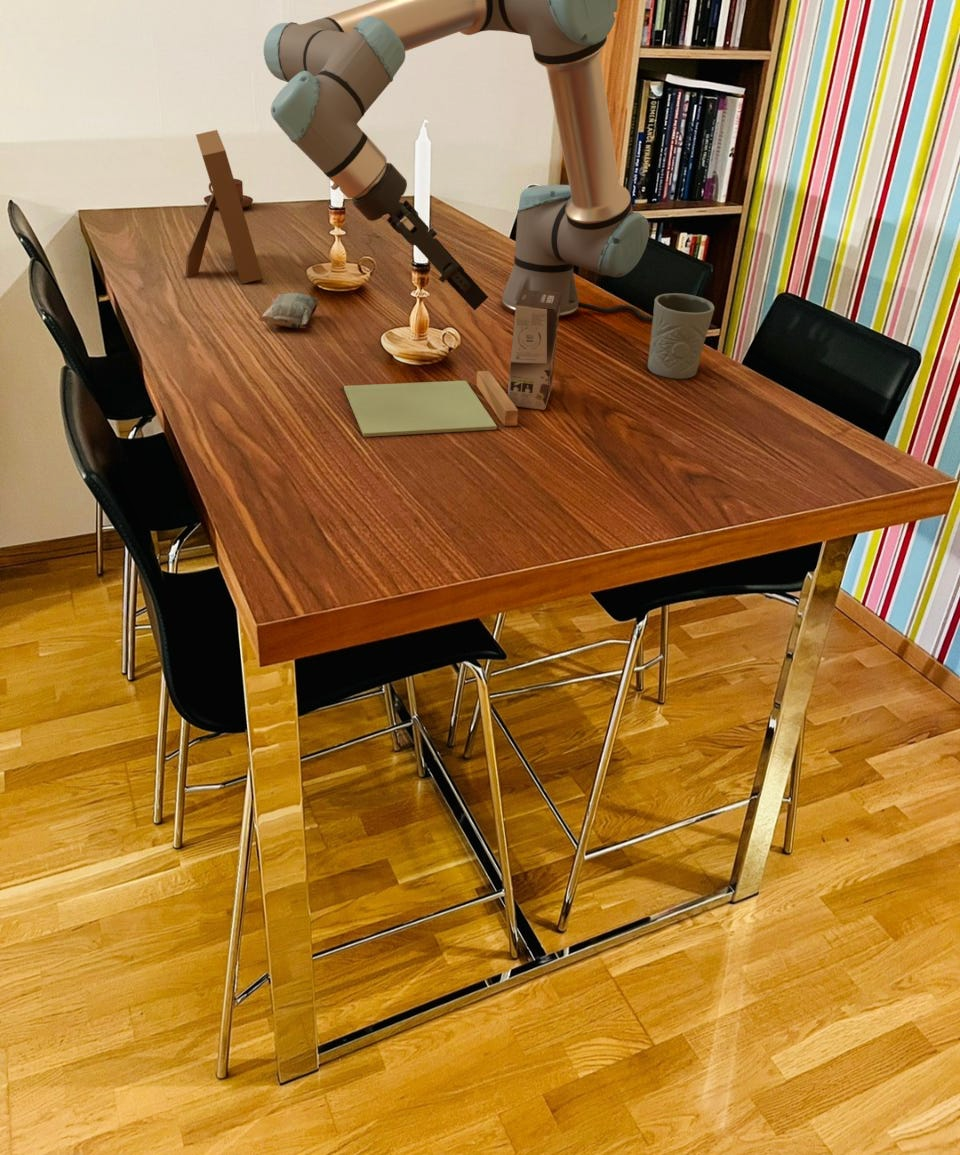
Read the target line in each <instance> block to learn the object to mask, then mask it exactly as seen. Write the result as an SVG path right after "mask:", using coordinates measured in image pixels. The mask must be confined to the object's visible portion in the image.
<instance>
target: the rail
mask: <svg viewBox="0 0 960 1155" xmlns="http://www.w3.org/2000/svg"><path fill="white" fill-rule="evenodd" d="M475 386H476V387H477V389H478V390H479V392H480V394H482V395H483V397H484V399H485V400H486V402H487V403H488V405H489V407H490V408H491V409H492V411H493V412H494V413H495V415H496V417H497V418H498V419H499V421H500V422H501V424H502V425H503V426H504V427H513V426H515V427H516V426H518V416H519V409H518V407H517V406H515V405H514V404H513V402H512V401H511V400H510V398H509V397H508V393H506V392H505V390H504V389H503V388H502V386H501V385H500V384H499V382H498V381H497V379H496V378H495V376H494V375H493V374H492V372H490V370H478V371H476V385H475Z"/></svg>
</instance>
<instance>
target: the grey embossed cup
mask: <svg viewBox="0 0 960 1155" xmlns="http://www.w3.org/2000/svg"><path fill="white" fill-rule="evenodd" d="M714 312H715V305H714V304H713V302H711V301H710V300H708V299H706V298H704V297H700V296H697V295H692V294H687V293H678V292H677V293H676V292H673V293H663V294H659V295H657V296H656V297H655V298H654V304H653V316H652V317H653V322H651V333H650V342H649V352H648V358H647V369H648V370H649V372H651V373H653V374H655V375H657V376H659V377H664V378H667V379H668V378H669V379H675V380H683V379H689V378H690V379H691V378H692V377H695V376H696V374H697V372H698V368H699V365H700V359H701V356H702V352H703V349H704V345H705V341H706V339H707V334H708V332H709V328H710V325H711V322H712V320H713V316H714Z"/></svg>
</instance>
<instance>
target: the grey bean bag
mask: <svg viewBox="0 0 960 1155" xmlns="http://www.w3.org/2000/svg"><path fill="white" fill-rule="evenodd" d="M318 304H319V301H318V298H317V297H314V296H312V295H308V294H306V293H302V292H301V293H300V292H287V293H280V294H276V295H275V296H274V297H273V298H271V304H270V305H269V306H268V308H267V309H266V310H265V311H264V313H263V314H262V315H261V316H258V319H259V321H261V322H265V323H266V324H269V325H271V326H272V325H273V326H277V327H284V328H293V329H305V328H307V327H308V325H309V324H310V320H311V318H312V317H313V315H314V313H315V312H316V310H317V307H318Z"/></svg>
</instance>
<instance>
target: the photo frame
mask: <svg viewBox="0 0 960 1155" xmlns="http://www.w3.org/2000/svg"><path fill="white" fill-rule="evenodd" d="M195 137H196V141H197V143H198V147H199V150H200V153H201V156H202V159H203V162H204V166H205V169H206V172H207V175H208V179H209V183H210V182H211V189H212V191H213V193H211V194H210V195H211V198H210V200H209V202H208V204H207V205H206V208H205V210H204V212H203V214H202V217H201V220H200V222H199V224H198V227H197V229H196V231H195V234H194V236H193V239H192V241H191V243H190V246H189V248H188V251H187V253H186V259H185V260H186V261H185V262H186V263H185V277H187V278H188V277H191V276H193V275H195V274H197V273H199V271H200V268H201V265H202V260H203V258H204V257H203V256H204V252H205V248H206V245H207V241H208V237H209V232H210V228H211V225H212V220H213V215H214V213H215V209H216V208H215V205H216V202H217V205H218V208H217V209H218V211H219V215H220V218H221V221H222V225H223V228H224V231H225V233H226V238H227V240H228V244H229V247H230V250H231V254H232V257H233V260H234V263H235V267H236V271H237V273H238V276H239V279H240V283H241V285H244V284H247V283H251V282H255V281H259V280H263V279H264V278H263V277H264V276H263V274H262V270H261V267H260V263H259V260H258V257H257V254H256V251H255V247H254V243H253V240H252V236H251V234H250V233H251V232H250V229H249V226H248V223H247V219H246V216H245V212H244V208H242V205H241V202H240V199H239V195H238V192H237V188H236V185H235V182H234V179H235V178H234V175H233V171H232V169H231V165H230V162H229V158H228V155H227V152H226V148H225V146H224V143H223V141H222V139H221V136H220V134H219V131H218V129H215V130H210V131H206V132H201V133H198V134H195Z"/></svg>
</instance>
